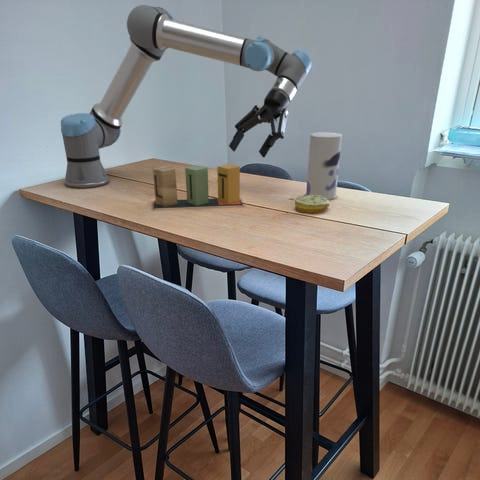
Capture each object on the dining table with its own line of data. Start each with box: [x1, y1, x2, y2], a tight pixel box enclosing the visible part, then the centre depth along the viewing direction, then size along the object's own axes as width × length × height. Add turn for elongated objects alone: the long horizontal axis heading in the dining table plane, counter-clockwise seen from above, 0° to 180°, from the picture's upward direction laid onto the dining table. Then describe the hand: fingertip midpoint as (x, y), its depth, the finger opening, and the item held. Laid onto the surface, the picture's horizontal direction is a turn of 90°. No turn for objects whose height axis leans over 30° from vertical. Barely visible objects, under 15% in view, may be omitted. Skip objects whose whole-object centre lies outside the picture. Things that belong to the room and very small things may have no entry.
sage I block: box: [184, 165, 210, 206], centre depth 148 cm, size 5×5×11 cm
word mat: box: [153, 197, 243, 210], centre depth 151 cm, size 28×9×1 cm, turn 97°
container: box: [305, 131, 343, 201], centre depth 154 cm, size 10×10×20 cm
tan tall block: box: [152, 165, 178, 207], centre depth 147 cm, size 5×5×11 cm
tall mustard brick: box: [216, 163, 241, 204], centre depth 149 cm, size 5×5×11 cm
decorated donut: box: [294, 194, 331, 214], centre depth 146 cm, size 10×11×4 cm
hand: (246, 151), depth 150 cm, fingers open, 13 cm apart
